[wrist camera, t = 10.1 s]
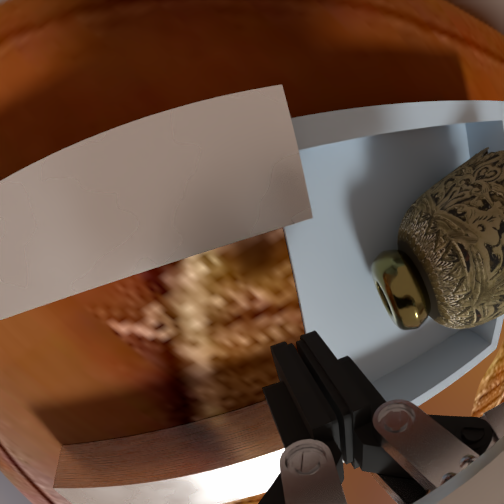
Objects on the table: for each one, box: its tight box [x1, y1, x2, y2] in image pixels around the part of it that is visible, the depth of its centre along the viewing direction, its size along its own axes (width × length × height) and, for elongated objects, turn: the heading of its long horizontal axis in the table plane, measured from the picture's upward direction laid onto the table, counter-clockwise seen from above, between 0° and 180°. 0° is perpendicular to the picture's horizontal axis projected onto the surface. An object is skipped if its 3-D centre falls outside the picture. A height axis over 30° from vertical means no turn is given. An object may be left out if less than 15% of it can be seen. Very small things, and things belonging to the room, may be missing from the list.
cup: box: [371, 147, 504, 330], centre depth 12 cm, size 8×7×8 cm
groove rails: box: [0, 85, 344, 504], centre depth 11 cm, size 16×18×4 cm
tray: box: [283, 100, 504, 406], centre depth 14 cm, size 13×16×3 cm
